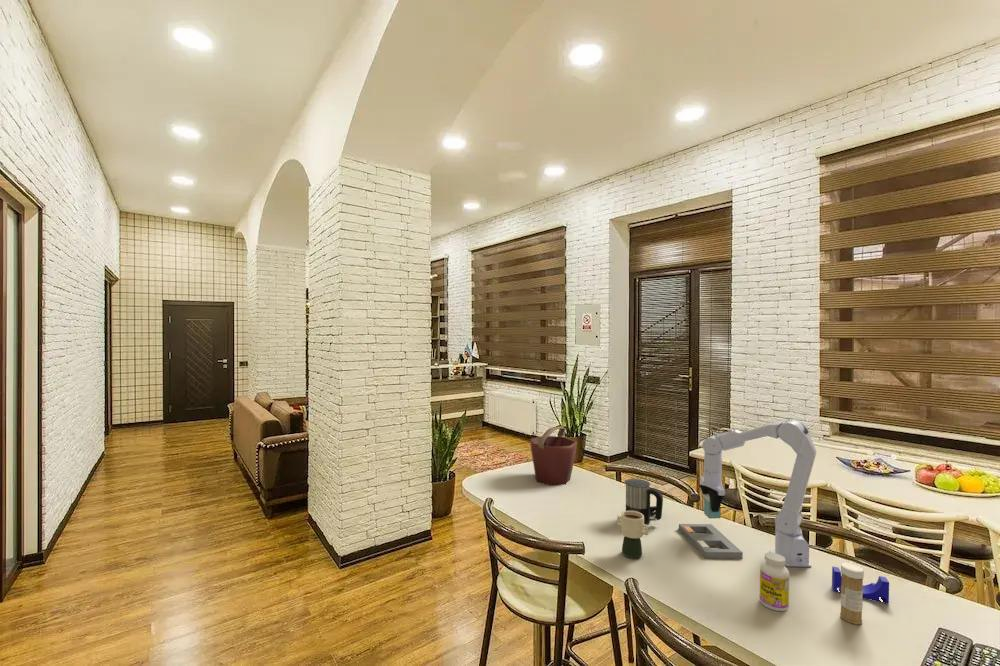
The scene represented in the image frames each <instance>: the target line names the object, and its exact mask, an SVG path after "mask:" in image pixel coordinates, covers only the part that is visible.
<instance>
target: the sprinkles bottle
mask: <svg viewBox="0 0 1000 666" xmlns="http://www.w3.org/2000/svg"><path fill="white" fill-rule="evenodd" d="M840 571H841V576H842V585H841V593H840V615H839V616H840V618H841V619H843V620H844V621H845V622H848V623H849V624H852V623H853V625H861V624H863V619H862V618H863V616H862V615H863V614H862V613H863V605H864V604H863V601H864V600H863V585H864V584H863V583H864V582H863V581H864V578H865V572H864V571H865V570H864V569H863V568H862V567H861V566H859V565H857V564H854V563H848V562H842V563H841V564H840Z"/></svg>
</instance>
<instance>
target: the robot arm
mask: <svg viewBox="0 0 1000 666" xmlns="http://www.w3.org/2000/svg"><path fill="white" fill-rule="evenodd" d="M765 437H771V438H773V439H775V440H777V439H780V440H782V441H783V443H785V444H787V445H788V446H790V447H791V448H792V450H793V452H795V454H796V458H795V462H794V463H793V468H792V472H791V476H790V479H789V482H788V487H787V491H786V494H785V497H784V501H783V504H782V506H781V509H780V511H779V512H778V514H777V515H776V516H775V518H774V524H775V531H774V532H775V533H774V536H775V538H774V540H775V541H774V544H775V545H774V547H775V548H774V550H771V549H770V550H768V553H776V554H779V555H781V556H783V557H784V558H785V565H784V566H785V567H798V568H799V567H803V568H804V567H805V568H807V567H808V568H809V567H810V568H811V567H812V564H811V563H810V545H809V543H808V541H806V539H805V538H804V535H803V530H802V528H801V527H800V525H801V524H802V522H803V519H804V517H803V513H802V509H803V503H804V500H805V499H804V498H805V495H806V491H807V488H808V484H809V480H810V477H811V473H812V470H813V465H814V463H815V460H816V456H817V449H816V447H815V444H814V442H813V439H812V437H811V434H810V430H809V428H807V426H806V425H805V424H804V423H803V421H800V420H798V419H795V418H793V419H788V420H786V421H785V420H781V421H776V422H769V423H767V424H763V425H761V426H758V427H754V428H751V429H747V430H745V431H740V430H739V429H733V428H731V429H728V430H727V431H726V432H723V433H720V434H719V433H717V432H716V433H715V434H714V435H711V436H709V437H707V438H705V439H704V440H703V442H702V444H701V445H702V449H703V451H704V452H703V453H704V454H703V455H704V457H703V476H702V475H701V476H700V482H699V483H700V484H699V485H698V486H699V488H700V491H701V493H702V495H703V494H709V497H710V502H711V510H712V512H718V511H719V508H720V505H722V502H723V501H724V499H725V497H726V496H727V493H726V489H724V487H723V484H722V475H723V474H722V473H723V472H722V470H723V464H722V463H723V459H722V457H723V455H722V453H723V451H725V452H726V451H728V450H733V449H737V448H741V447H744V446H745V443H746V442H747V441H751V440H758V439H761V438H765Z"/></svg>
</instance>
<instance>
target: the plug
mask: <svg viewBox="0 0 1000 666" xmlns="http://www.w3.org/2000/svg"><path fill="white" fill-rule="evenodd" d="M702 497H703V514H704V515H705V516H706V517H707V518H708V519H721V515H722V514H721V510H722V509H721V505H722V504H721V505H720V508H719V511H718V512H712V510H711V502H710V497H709V494H702Z"/></svg>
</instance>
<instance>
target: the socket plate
mask: <svg viewBox="0 0 1000 666" xmlns="http://www.w3.org/2000/svg"><path fill="white" fill-rule="evenodd" d="M678 530H679V532H680V533H681V534H682V535H683V534H684V535H685V536H684V535H683V536H684V537H685V538H686V539H687V541H689V542H690V544H692V546H693V547H694V548H695V549H696V550H697V551H698V552H699V553H700V555H702V557H704V559H738V558H742V559H743V557H744V556H743V551H742V550H740V548H738V546H737V545H735V544H734V542H732V541H731V540H729V538H727V536H725V535H724V534H723V533H722V532H721V531H720V530H718V528H716V527H715V526H714V525H713V524H712V523H711V524H708V523H705V524H704V523H698V524H697V523H678ZM718 546H721V548H711V547H718Z"/></svg>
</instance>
